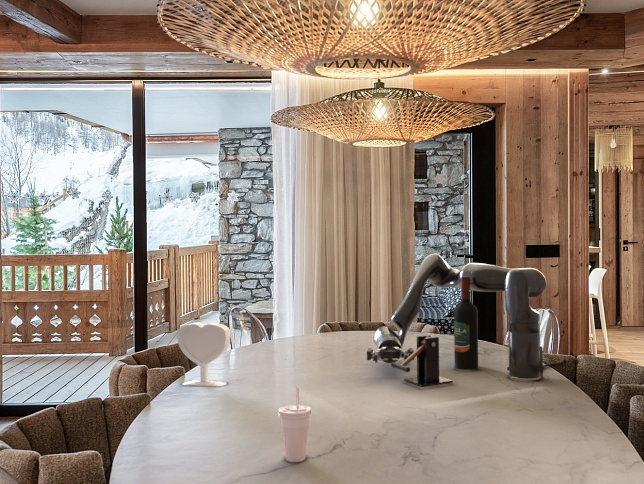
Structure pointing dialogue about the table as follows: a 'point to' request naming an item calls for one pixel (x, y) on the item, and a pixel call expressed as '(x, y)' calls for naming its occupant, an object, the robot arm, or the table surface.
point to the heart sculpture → (203, 347)
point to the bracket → (428, 364)
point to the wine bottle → (465, 330)
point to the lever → (409, 358)
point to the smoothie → (295, 429)
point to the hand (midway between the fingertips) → (390, 359)
